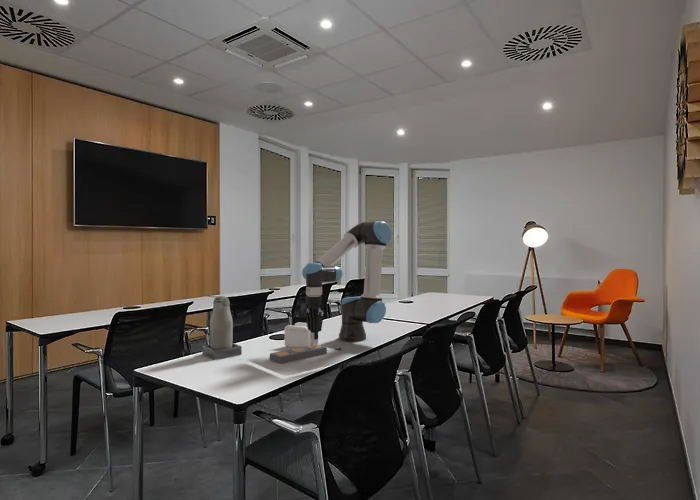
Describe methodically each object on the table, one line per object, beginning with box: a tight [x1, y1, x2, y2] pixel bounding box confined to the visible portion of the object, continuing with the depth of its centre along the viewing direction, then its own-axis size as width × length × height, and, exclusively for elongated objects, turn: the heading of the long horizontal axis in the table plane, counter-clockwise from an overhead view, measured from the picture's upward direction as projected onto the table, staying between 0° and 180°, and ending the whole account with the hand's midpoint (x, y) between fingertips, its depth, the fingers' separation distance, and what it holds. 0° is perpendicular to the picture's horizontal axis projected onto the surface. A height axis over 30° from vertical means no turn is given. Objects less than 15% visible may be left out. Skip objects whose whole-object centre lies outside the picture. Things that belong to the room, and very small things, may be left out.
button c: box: [274, 351, 289, 356], centre depth 189 cm, size 4×4×3 cm
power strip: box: [269, 344, 342, 365], centre depth 199 cm, size 37×9×4 cm, turn 131°
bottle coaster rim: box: [201, 342, 243, 361], centre depth 205 cm, size 14×14×4 cm
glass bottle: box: [209, 295, 234, 350], centre depth 205 cm, size 10×10×28 cm
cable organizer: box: [284, 322, 311, 348], centre depth 217 cm, size 15×11×12 cm
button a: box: [308, 345, 322, 349], centre depth 201 cm, size 4×4×3 cm
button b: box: [291, 347, 306, 352], centre depth 195 cm, size 4×4×3 cm
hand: (314, 345), depth 201 cm, fingers closed
